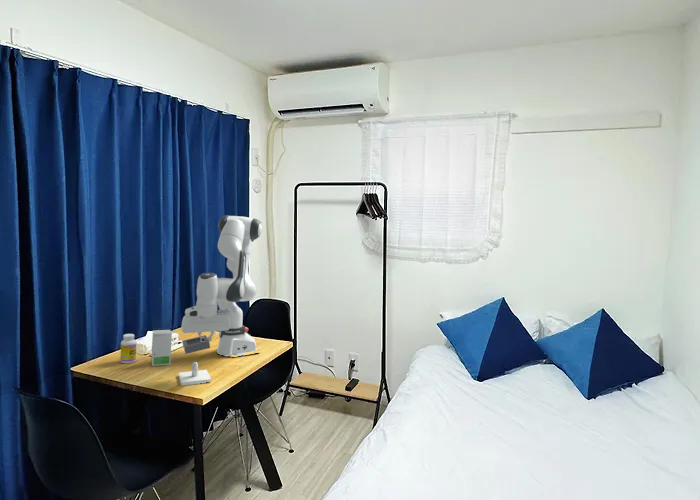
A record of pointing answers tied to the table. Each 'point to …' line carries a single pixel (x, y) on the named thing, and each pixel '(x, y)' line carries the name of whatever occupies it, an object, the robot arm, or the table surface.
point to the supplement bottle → (128, 349)
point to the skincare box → (161, 347)
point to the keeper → (194, 376)
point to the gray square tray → (195, 344)
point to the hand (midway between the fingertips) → (205, 341)
